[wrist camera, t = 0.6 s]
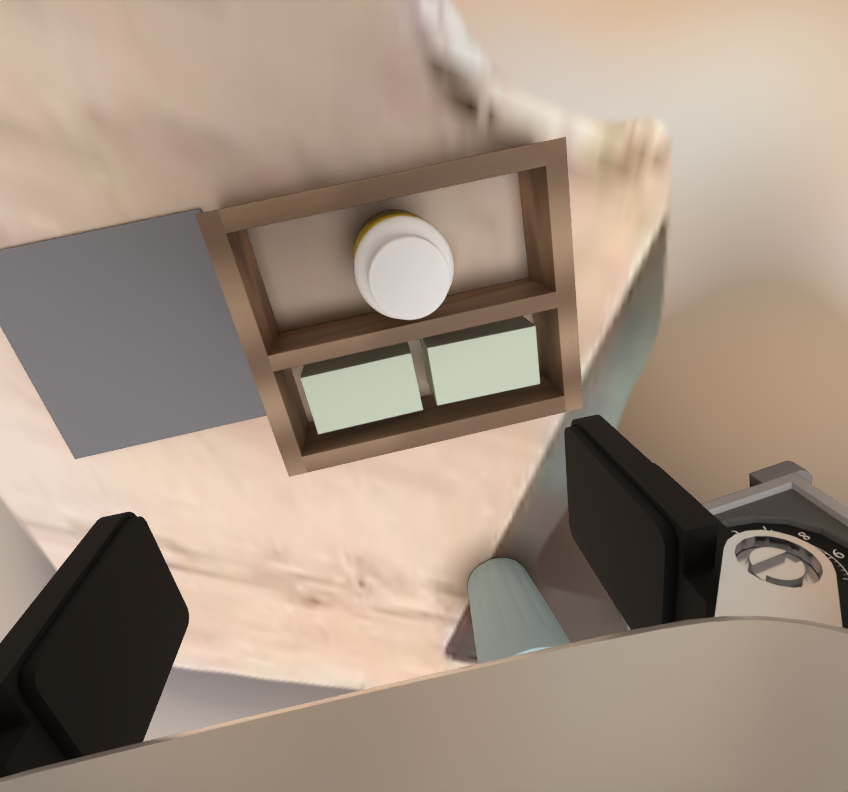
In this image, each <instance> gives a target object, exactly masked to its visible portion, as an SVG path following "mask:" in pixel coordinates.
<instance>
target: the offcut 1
mask: <svg viewBox="0 0 848 792" xmlns="http://www.w3.org/2000/svg"><path fill="white" fill-rule="evenodd" d="M300 379H301V382H302V385H303V388H304V391H305V394H306V397H307V400H308V404H309V407H310V410H311V413H312V416H313V419H314V422H315V426H316V429H317V432H318V434H321V433H326V432H330V431H334V430H339V429H343V428H347V427H352V426H356V425H360V424H364V423H369V422H373V421H377V420H382V419H386V418H390V417H395V416H399V415H403V414H408V413H412V412H416V411H420V410H423V407H422V402H421V397H420V393H419V388H418V383H417V379H416V374H415V369H414V365H413V360H412V355H411V352H410V349H409V346H408V343H407V342H403V343H399V344H394V345H390V346H385V347H381V348H376V349H372V350H367V351H363V352H358V353H354V354H350V355H345V356H341V357H336V358H332V359H327V360H323V361H318V362H314V363H309V364H305V365H304V367H303V371H302V374H301V378H300Z"/></svg>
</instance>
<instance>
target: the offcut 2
mask: <svg viewBox="0 0 848 792" xmlns="http://www.w3.org/2000/svg"><path fill="white" fill-rule="evenodd" d="M420 340H421V346H422V351H423V357H424V362H425V368H426V374H427V379H428V383H429V386H430V388H431V391H432V393H433V396H434V398H435V401H436V404H437V406H438V405H442V404H447V403H452V402H456V401H461V400H466V399H471V398H475V397H480V396H485V395H489V394H494V393H499V392H504V391H508V390H513V389H518V388H522V387H527V386H532V385H537V384H540V376H539V363H538V351H537V338H536V326H535V325H533V324H532V323H531V322H529V321H528V320H527V319H525V318H524V317H523V316H519V317H514V318H510V319H506V320H501V321H497V322H492V323H488V324H483V325H479V326H474V327H470V328H465V329H461V330H456V331H452V332H448V333H443V334H439V335H434V336H430V337H425V338H421V339H420Z"/></svg>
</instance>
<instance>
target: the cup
mask: <svg viewBox="0 0 848 792" xmlns="http://www.w3.org/2000/svg"><path fill="white" fill-rule="evenodd" d="M468 595H469V602H470V609H471V616H472V623H473V630H474V637H475V644H476V651H477V658H478V664H479V663H483V662H488V661H492V660H497V659H501V658H505V657H510V656H514V655H519V654H523V653H528V652H532V651H536V650H541V649H545V648H550V647H554V646H559V645H563V644H568V643H571V642H570V640H569V639H568V637H567V636H566V634H565V633H564V631H563V629H562V628H561V626H560V625H559V623H558V621H557V620H556V618H555V616H554V615H553V613H552V612H551V610H550V608H549V607H548V605H547V604H546V602H545V600H544V599H543V597H542V596H541V594H540V592H539V591H538V589H537V588H536V586H535V584H534V583H533V581H532V580H531V578H530V576H529V575H528V573H527V572H526V570H525V569H524V567H523V566H522V565H521V564H519V563H518V562H517V561H515V560H513V559H509V558H495V559H491V560H488V561H486V562H484V563H482V564H480V565H479V566H478V567H477V568H476V569H475V570H474V571H473V572H472V574H471V575H470V577H469V581H468Z"/></svg>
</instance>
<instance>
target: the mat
mask: <svg viewBox="0 0 848 792" xmlns="http://www.w3.org/2000/svg"><path fill="white" fill-rule="evenodd" d="M199 213H202V210H201V209H196V210H191V211H186V212H182V213H177V214H172V215H167V216H162V217H157V218H153V219H148V220H143V221H138V222H133V223H129V224H124V225H119V226H114V227H109V228H105V229H100V230H95V231H90V232H85V233H81V234H76V235H71V236H66V237H61V238H57V239H52V240H47V241H42V242H37V243H32V244H28V245H23V246H18V247H13V248H8V249H4V250H0V326H1V328H2V330H3V332H4V334H5V335H6V337H7V339H8V341H9V342H10V344H11V346H12V348H13V350H14V351H15V353H16V355H17V357H18V358H19V360H20V362H21V364H22V366H23V367H24V369H25V371H26V373H27V375H28V376H29V378H30V380H31V382H32V383H33V385H34V387H35V389H36V391H37V392H38V394H39V396H40V398H41V399H42V401H43V403H44V405H45V407H46V408H47V410H48V412H49V414H50V415H51V417H52V419H53V421H54V423H55V424H56V426H57V428H58V430H59V431H60V433H61V435H62V437H63V439H64V440H65V442H66V444H67V446H68V447H69V449H70V451H71V453H72V455H73V456H74V458H75V459H78V458H82V457H87V456H91V455H95V454H100V453H104V452H108V451H113V450H117V449H122V448H126V447H130V446H135V445H139V444H143V443H148V442H152V441H157V440H161V439H165V438H170V437H174V436H179V435H183V434H187V433H192V432H196V431H200V430H205V429H209V428H214V427H218V426H222V425H227V424H231V423H235V422H240V421H244V420H249V419H253V418H257V417H262V416H266V415H267V414H266V411H265V408H264V405H263V403H262V400H261V397H260V394H259V391H258V389H257V386H256V383H255V380H254V377H253V375H252V372H251V369H250V366H249V364H248V361H247V358H246V355H245V352H244V350H243V347H242V344H241V341H240V339H239V336H238V333H237V330H236V327H235V325H234V322H233V319H232V316H231V314H230V311H229V308H228V305H227V302H226V300H225V297H224V294H223V291H222V288H221V286H220V283H219V280H218V277H217V275H216V272H215V269H214V266H213V263H212V261H211V258H210V255H209V252H208V250H207V247H206V244H205V241H204V238H203V236H202V233H201V230H200V227H199V225H198V222H197V219H196V216H195V214H199Z"/></svg>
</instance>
